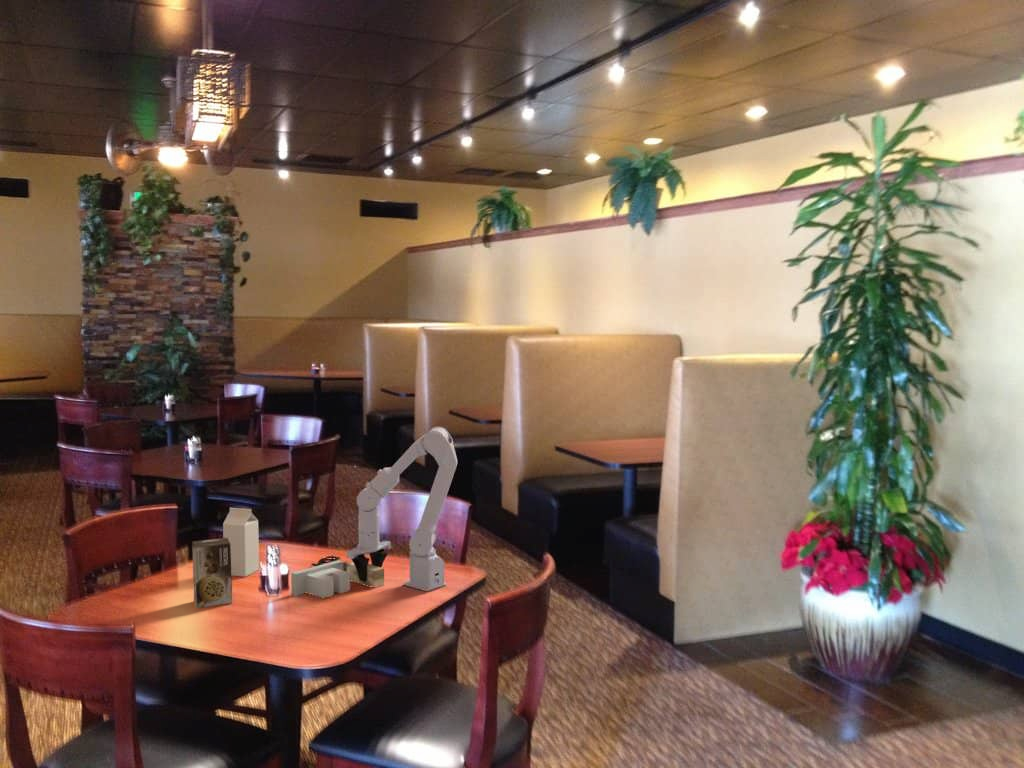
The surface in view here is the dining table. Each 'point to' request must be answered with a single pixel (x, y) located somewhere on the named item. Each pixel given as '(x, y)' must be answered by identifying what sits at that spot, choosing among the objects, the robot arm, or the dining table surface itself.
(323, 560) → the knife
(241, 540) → the milk carton
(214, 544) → the grey food box
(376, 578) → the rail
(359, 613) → the dining table surface
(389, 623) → the dining table surface
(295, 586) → the grey stepped block
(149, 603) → the dining table surface
